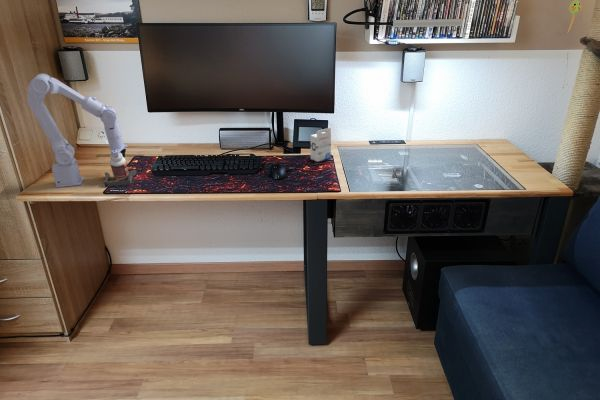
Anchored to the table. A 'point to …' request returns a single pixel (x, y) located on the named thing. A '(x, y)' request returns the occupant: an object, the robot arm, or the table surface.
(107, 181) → the mount cradle
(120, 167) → the pill bottle
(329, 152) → the ink box
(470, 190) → the table surface
